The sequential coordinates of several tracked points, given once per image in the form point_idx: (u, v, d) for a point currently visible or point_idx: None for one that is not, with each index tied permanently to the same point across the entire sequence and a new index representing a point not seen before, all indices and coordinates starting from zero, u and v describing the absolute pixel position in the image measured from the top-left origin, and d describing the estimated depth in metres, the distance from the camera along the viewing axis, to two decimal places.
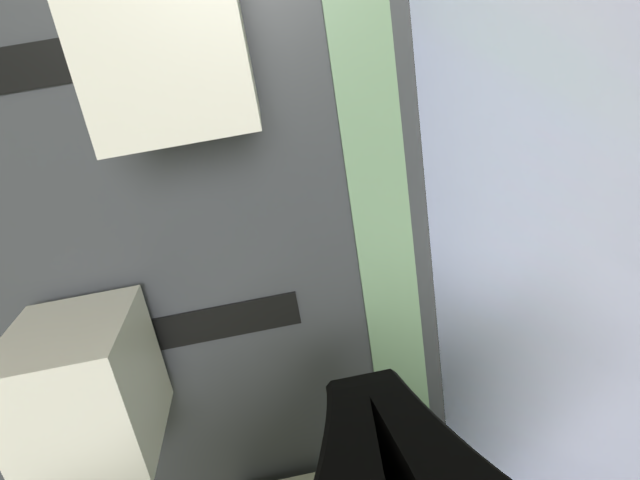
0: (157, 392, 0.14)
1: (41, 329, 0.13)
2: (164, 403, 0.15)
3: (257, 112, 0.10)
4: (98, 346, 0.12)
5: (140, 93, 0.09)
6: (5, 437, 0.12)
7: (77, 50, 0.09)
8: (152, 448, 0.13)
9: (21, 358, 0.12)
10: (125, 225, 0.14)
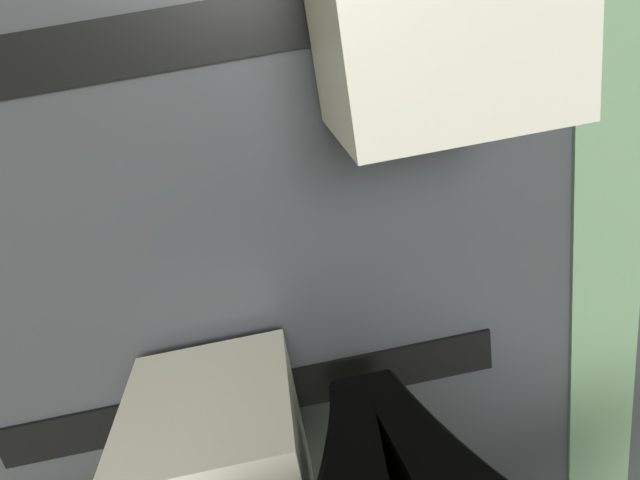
0: (309, 470, 0.11)
1: (172, 397, 0.10)
2: None
3: (598, 92, 0.06)
4: (271, 431, 0.08)
5: (438, 64, 0.06)
6: None
7: None
8: None
9: (163, 447, 0.08)
10: (288, 248, 0.11)
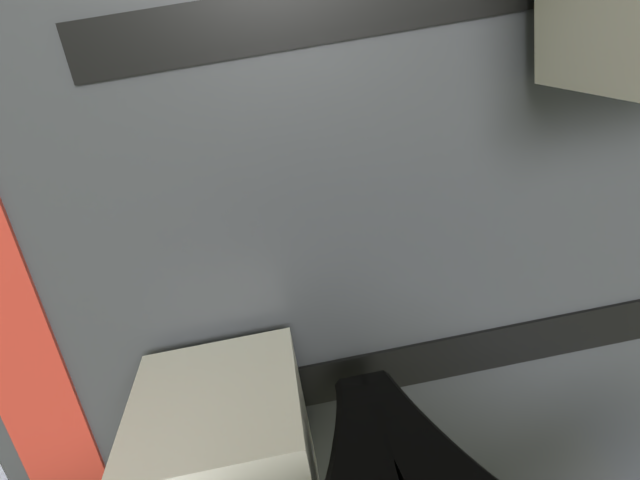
0: (315, 469, 0.11)
1: (180, 394, 0.10)
2: None
3: None
4: (280, 428, 0.08)
5: None
6: None
7: None
8: None
9: (172, 445, 0.08)
10: (477, 212, 0.11)
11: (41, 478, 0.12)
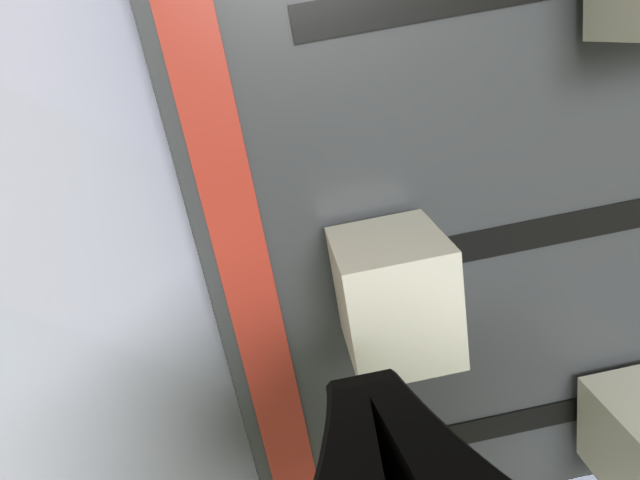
0: None
1: (364, 240, 0.15)
2: None
3: None
4: (441, 246, 0.14)
5: None
6: (365, 323, 0.14)
7: None
8: None
9: (375, 257, 0.14)
10: (541, 131, 0.17)
11: (239, 321, 0.18)
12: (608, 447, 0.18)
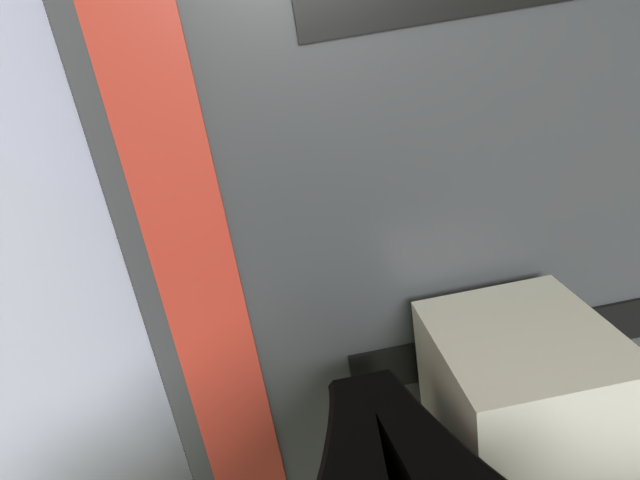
0: None
1: (486, 332, 0.10)
2: None
3: None
4: (626, 356, 0.09)
5: None
6: None
7: None
8: None
9: (519, 372, 0.09)
10: None
11: (214, 441, 0.12)
12: None
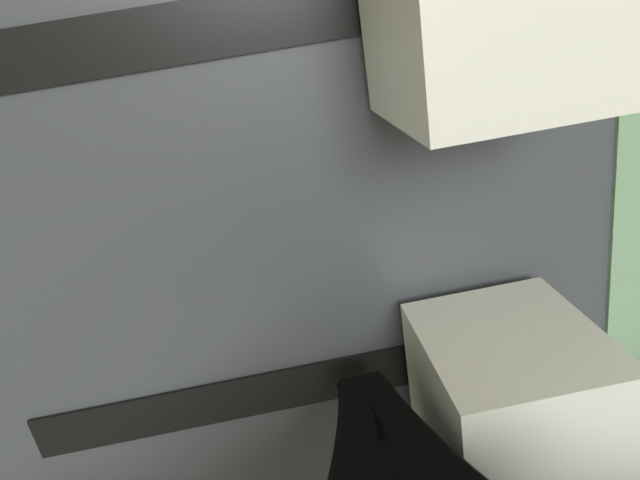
0: None
1: (474, 335, 0.10)
2: None
3: None
4: (612, 359, 0.09)
5: (514, 47, 0.06)
6: None
7: None
8: None
9: (505, 375, 0.09)
10: (330, 238, 0.11)
11: None
12: None
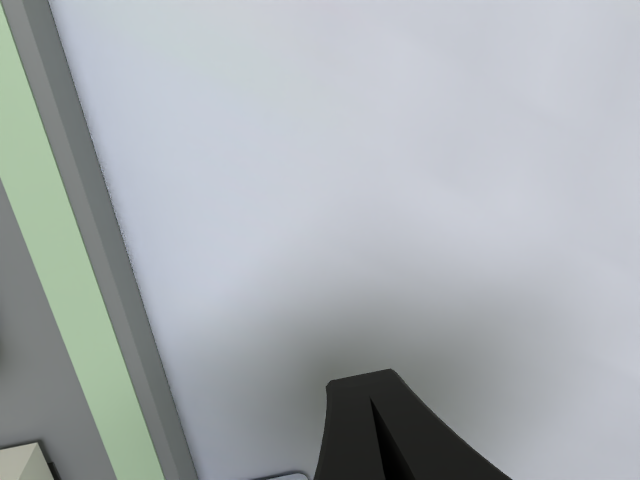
0: None
1: None
2: None
3: None
4: None
5: None
6: None
7: None
8: None
9: None
10: None
11: None
12: None
